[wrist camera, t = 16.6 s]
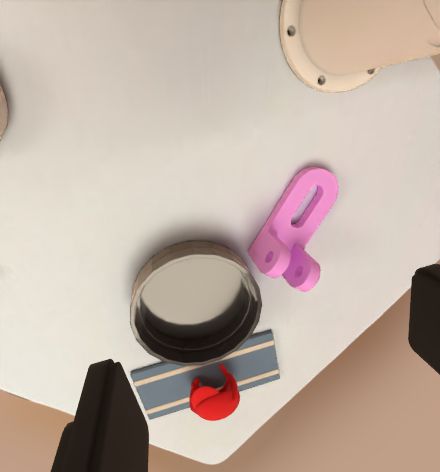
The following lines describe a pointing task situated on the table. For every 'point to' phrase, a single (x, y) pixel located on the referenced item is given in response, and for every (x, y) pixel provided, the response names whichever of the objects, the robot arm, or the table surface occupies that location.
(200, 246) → the bowl
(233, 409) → the red rounded lobed piece
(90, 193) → the table surface
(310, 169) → the bracket
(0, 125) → the donut
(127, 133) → the table surface
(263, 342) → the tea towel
